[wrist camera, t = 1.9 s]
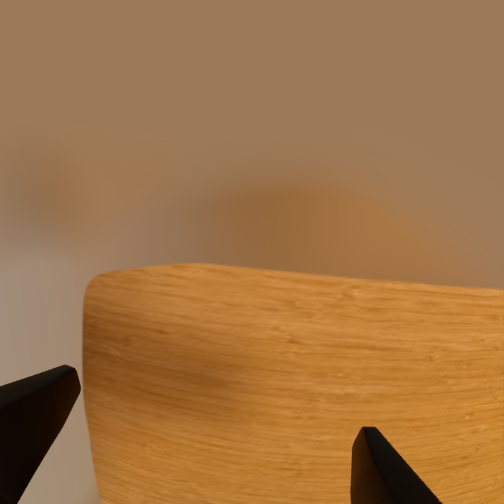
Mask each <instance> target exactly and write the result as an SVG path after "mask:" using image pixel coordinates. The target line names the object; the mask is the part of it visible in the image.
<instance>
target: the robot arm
mask: <svg viewBox="0 0 504 504" xmlns="http://www.w3.org/2000/svg"><path fill="white" fill-rule="evenodd" d="M80 390H81V385H80V382H79V378H78V374H77V371H76V369H75V368H73V367H71V366H68V365H62V366H59V367H56V368H53V369H51V370H48V371H45V372H42V373H39V374H36V375H33V376H30V377H27V378H24V379H21V380H18V381H15V382H12V383H9V384H6V385H3V386H0V504H17V503H18V501H19V500H20V498H21V496H22V494H23V493H24V491H25V489H26V487H27V486H28V484H29V482H30V480H31V479H32V477H33V475H34V473H35V472H36V470H37V468H38V467H39V465H40V463H41V462H42V460H43V458H44V457H45V455H46V453H47V452H48V450H49V448H50V447H51V445H52V444H53V442H54V440H55V439H56V437H57V436H58V434H59V433H60V431H61V429H62V428H63V426H64V424H65V422H66V420H67V418H68V416H69V414H70V412H71V410H72V408H73V406H74V404H75V401H76V399H77V398H78V396H79V394H80ZM350 493H351V504H442V502H441V501H439V499H438V498H437V497H436V496H435V495H434V494H433V492H432V491H431V490H430V489H429V488H428V487H427V486H426V484H425V483H424V482H423V481H422V480H421V479H420V478H419V476H418V475H417V474H416V473H415V472H414V471H413V470H412V468H411V467H410V466H409V465H408V464H407V463H406V462H405V460H404V459H403V458H402V457H401V456H400V455H399V453H398V452H397V451H396V450H395V449H394V448H393V446H392V445H391V444H390V443H389V442H388V441H387V439H386V438H385V437H384V436H383V435H382V434H381V432H380V431H379V430H378V429H377V428H376V427H362V428H361V429H360V431H359V433H358V435H357V437H356V439H355V441H354V444H353V447H352V467H351V489H350Z"/></svg>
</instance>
